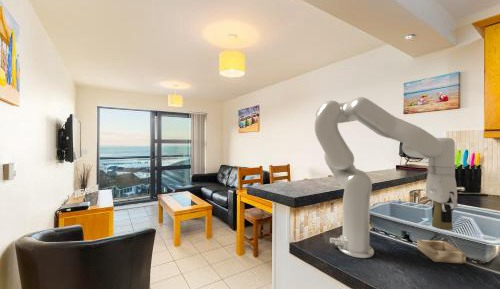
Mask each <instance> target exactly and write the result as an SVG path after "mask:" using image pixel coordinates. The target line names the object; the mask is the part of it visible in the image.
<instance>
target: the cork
mask: <svg viewBox="0 0 500 289" xmlns="http://www.w3.org/2000/svg"><path fill="white" fill-rule="evenodd" d="M447 203H449V201H447ZM433 204H434V205H435V207H434V214H433V217H432V220H431V226H432V227H433V228H436V229H438V230H445V231H452V230H453V229H454V227H453V221H452V222H451V223H444V222H441V211H443V210H442V203H438V202H436V201H433ZM447 206H448V205H446V207H447Z"/></svg>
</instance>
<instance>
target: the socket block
mask: <svg viewBox="0 0 500 289" xmlns="http://www.w3.org/2000/svg"><path fill="white" fill-rule="evenodd" d="M416 244H417V245H416V246H417V247H416V248H417V250H419V251H420V252H421V253H422V254H424V255H425V256H426V257H428V258H429V259H430V260H431V261H433V262H434V263H435V262H437V263H447V264H449V263H452V264H463V263H467V254H466V253H465V252H464V251H462V250H460V249H459V248H458V247H455V246H454V245H453V244H450V243H449V242H448V241H446V240H430V239H417V240H416Z"/></svg>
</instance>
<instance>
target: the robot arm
mask: <svg viewBox="0 0 500 289" xmlns="http://www.w3.org/2000/svg"><path fill="white" fill-rule="evenodd" d="M314 120H315V121H314V132H315V136H316V139H317V141H318V142H319V144H320V146H321V148H322V150H323V151H324V160H325V163H326V165H327V166H328V169H329V170H330V171H331V173H332V175H333V176H334V178H335V180H336V181H337V183H338V185H340V187H342V188H343V196H342V234H340V236H338V237H329V243H330V244H334V245H335V246H337V248H338V249H339V251H340V252H342V253H344V254H345V255H347V256H350V257H353V258H357V259H367V258H371V257H373V256H374V254H375V250H374V248H373V247H371V245H370V206H371V204H370V203H371V194H372V190H373V183H372V179H371V177H370V176H369V175H368V174H367V173H366V172H365V171H363V170H361V169H358V168H357V167H356V166H355V165H354V163H355V156H354V154H353V152H352V150H351V148H350V147H349V146H348V145H347V143H346V141H345V139H344V138H343V136H342V134H341V132H340V130H339V127H338V125H339V124H341V123H342V124H343V123H349V122H350V123H351V122H355V121H357V122H359V123H361V124H362V125H364V126H365V127H367V128H368V129H369V130H371V131H372V132H374V133H376V134H377V135H378V136H381V137H384V138H387V139H391V140H394V141H397V142H400V143H402V147H401V148H402V149H401V150H402V152H403V153H404V154H405V155H406V156H408V157H411V158H416V159H417V158H418V159H428V165H427V166H428V169H427V171H428V173H427V176H426V182H425V183H426V184H425V196H426V198H427V199H428V200H429V202H430V206H431V217H432V218H433V214H434V207H435V205H434V204H433V201H436V202H438V203H442V210H443V211H441V222H444V223H451V222H452V223H453V212H454V210H455V209H457V208H458V207H459V204H458V187H457V181H456V163H455V162H456V161H455V160H456V159H455V158H456V151H455V150H456V149H455V148H456V146H455V140H454V138H451V137H435V136H434V135H433V134H431V133H429V132H428V131H426V130H425V129H423V128H422V127H419V126H417V125H416V124H413V123H410V122H408V121H406V120H404V119H401V118H398V117H396V116H394V115H393V114H391V113H390V112H388V111H386V110H385V109H384V108H382V107H381V106H379V105H378V104H376V103H375V102H373V101H371V100H370V99H369V98H366V97H363V96H360V97H356V98H354V99H352V100H350V101H346V102H340V103H339V102H337V101H336V100H328V101H325V102H324V103H322V104H321V105H320V106H319V107H318V108H317V109H316V113H315V119H314ZM447 201H449V203H447ZM446 205H448V206H447V207H446Z"/></svg>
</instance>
